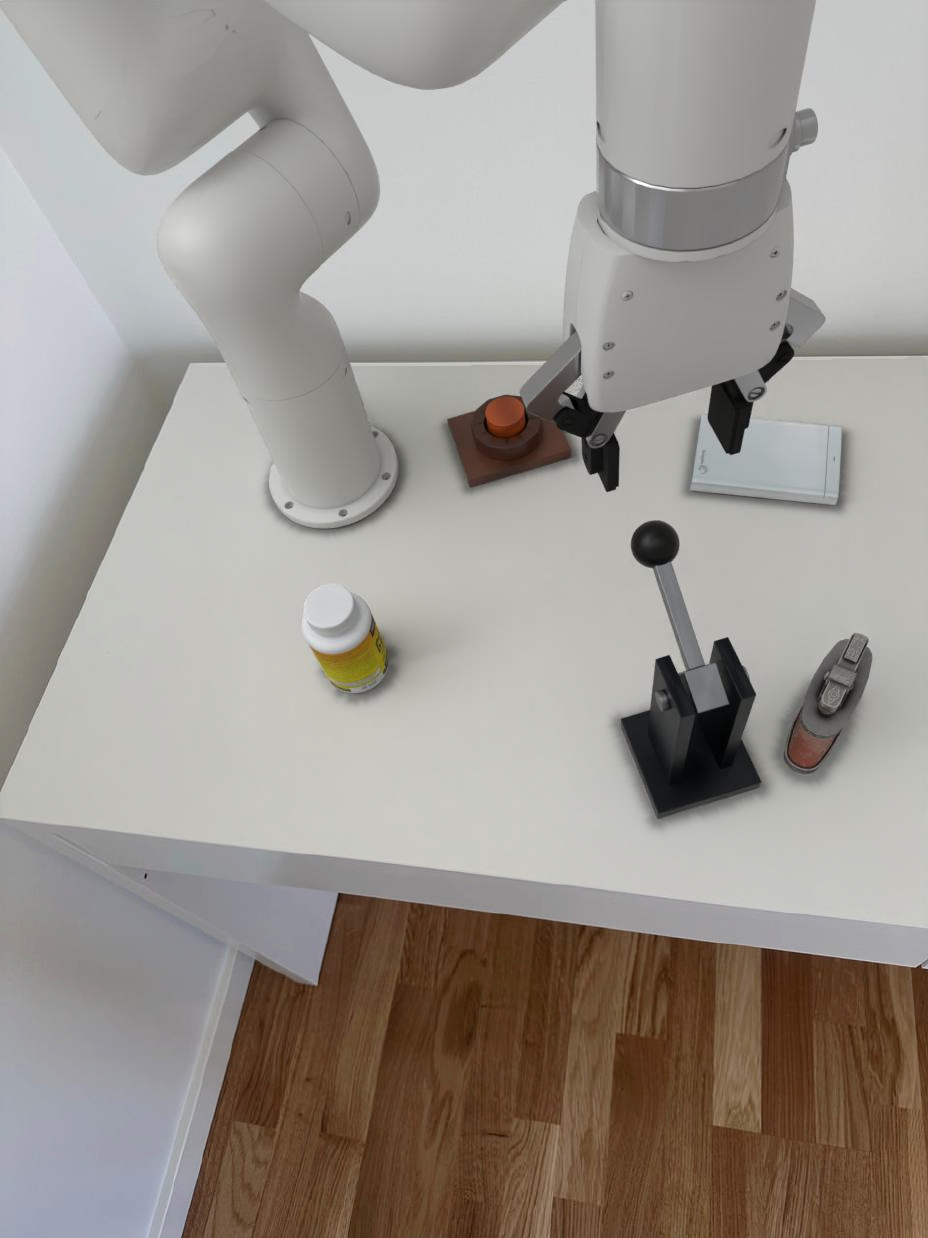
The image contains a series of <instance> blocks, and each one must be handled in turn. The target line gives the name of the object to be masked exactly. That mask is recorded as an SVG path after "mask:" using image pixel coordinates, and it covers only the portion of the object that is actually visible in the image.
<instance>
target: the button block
mask: <svg viewBox="0 0 928 1238" xmlns="http://www.w3.org/2000/svg"><path fill="white" fill-rule="evenodd" d="M500 397H513V398H516V399H518V400H519V401H520V402H521V403H522V404H523V406H524V412H525V426H524V428H523V430H522V431H521V432H520V433H519V434H517V435H516V436H513V437H510V438H499V437H496V436H494V435H493V434H491V432H490V431H489V430H488V427H487V421H486V415H485V411H486V408H487V406H488V405H489V404H490V403H491V402H492V401H493V400H495V399H497V398H500ZM446 421H447V425H448V426H447V427H448V430H449V432H450V436H451V438H452V440H453V443H454V447H455V449H456V453H457V455H458V458H459V460H460V463H461V466H462V470H463V472H464V475H465V478H466V481H467V483H468V486H469V488H473V487H478V486H480V485H483V484H488V483H491V482H493V481H497V480H500V479H501V480H502V479H504V478H507V477H510V476H514V475H517V474H521V473H524V472H528V471H531V470H534V469H537V468H541V467H544V466H547V465H550V464H551V465H552V464H554V463H557V462H561V461H565V460H568V459H570V458H572V448H571V446H570V443H569V441H568V439H567V436H566V435H565V431H563V430H560V429H559V428H558V427H557V425H556V424H555V423H553V422H551V421H549V422H548V421H546V420H543V419H541V418H539V417H537V416H535V415H533V414H530V413H529V412H527V410H526V407H525V405H524V402H523V400H522V398H521V395H515V394H502V395H499V396H495V397H493V398H488V399H487V400H485V401H484V402H483V403H482V404H481V405H480V406H479V407H477V408H476V409H475V410H473V411H470V412H466V413H463V414H460V415H459V414H458V415H456V416H453V417H449V418H446Z"/></svg>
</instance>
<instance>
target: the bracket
mask: <svg viewBox="0 0 928 1238" xmlns="http://www.w3.org/2000/svg"><path fill="white" fill-rule="evenodd" d="M709 657H710V658H709V663H708V664H710V663H717V666H718V669H719V673H720V676H721V679H722V682H723V685H724V688H725V691H726V694H727V697H728V700H729V704H728V705H725V706H722V707H718V708H715V709H712V710H708V711H705V712H702V713H699V714H695V711H694V708H693V706H692V704H691V702H690V699H689V697H688V695H687V693H686V690H685V688H684V686H683V684H682V681H681V679H680V677H679V675H678V673H679V672H678V670H677V668H676V665H675V664H674V661H673V659H672V657H671V655H670V654H668V655H664V656H661V657H658V658H655V661H654V669H653V670H654V671H653V678H652V679H653V680H652V687H651V697H650V707H649V710H645V711H641V712H638V713H636V714H632V715H628V716H625V717H622V718H620V727H621V730H622V733H623V735H624V739H625V741H626V743H627V745H628V748H629V751H630V753H631V756H632V759H633V762H634V763H635V766H636V769H637V771H638V773H639V774H638V775H639V776H640V779H641V782H642V783H643V787H644V789H645V791H646V793H647V794H646V795H647V796H648V799H649V802H650V805H651V808H652V809H653V812H654V814H655V816H656V819H657V820H658V819H663V818H665V817H668V816H673V815H675V814H678V813H681V812H685V811H688V810H692V809H695V808H697V807H701V806H705V805H707V804H711V803H714V802H717V801H721V800H723V799H728V798H730V797H733V796H737V795H740V794H743V793H747V792H750V791H752V790H757V789H759V788H760V787H761V784H762V780H761V777H760V776H759V774H758V771H757V769H756V767H755V765H754V763H753V761H752V759H751V756H750V754H749V751H748V750H747V748H746V745H745V744H744V742H743V739H742V738H743V736H744V733H745V730H746V726H747V722H748V720H749V717H750V714H751V711H752V709H753V705H754V702H755V700H756V696H757V693H756V690H755V689H754V686H753V684H752V683H751V677H750V674H749V671H748V670H747V667H745V665H743V664H742V662H741V660H740V658H739V656H738V655H737V652H736V650H735V648H734V646H733V644H732V642H731V640H730V637H728V636H726V637H723V638H719V639H716V640H714V641H713V644H712V649H711V653H710V656H709Z"/></svg>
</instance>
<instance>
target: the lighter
mask: <svg viewBox="0 0 928 1238" xmlns="http://www.w3.org/2000/svg"><path fill="white" fill-rule="evenodd" d="M869 642H870V639H869V637H868V636H867V635H865V634H863V633H860V632H853V633H852V634H851V635H850V637H849V638H845V639H841V640H838V641H837V642H836V643H835V644H834V645H833V647H832V648H831V649H830V651H828V652H827V654H826V655H825V656H824V658H823V659H822V660H821V662H820V665H818V667H817V669H816V671H815V673H814V675H813V676H812V679H811V681H810V683H809V686H808V689H807V691H806V693H805V697H804V699H803V702H802V705H800V707H799V709H798V711H797V712H796V713H795V717H794V719H793V720H792V721H793V722H792V724H791V726H790V729H789V731H788V734H787V738H786V742H785V745H784V751H783V760H784V763H785V765H786V766H787V767H788V768H789V769H790V770H791V771H793V772H795V773H797V774H801V775H810V774H813V773H815V772H816V771H817V770H818V769H819V768H820V767H821V766H822V764H823V763H824V762H825V760H826V759H827V757H828V756H829V755H830V753H831V751H832V750H833V748H834V746H835V744H836V743H837V741H838V739H839V738H840V736H841V734H842V732H843V730H844V729H845V727H846V726H847V723H848V722H849V720H850V718H852V715H853V713H854V711H855V710H856V708H857V707H858V704H859V703H860V701H861V699H862V698H863V696H864V692H865V689H866V687H867V684H868V682H869V678H870V673H871V668H872V664H873V653H872V651H871V649H870V647H868V645H869Z"/></svg>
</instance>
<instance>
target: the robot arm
mask: <svg viewBox="0 0 928 1238" xmlns="http://www.w3.org/2000/svg"><path fill="white" fill-rule="evenodd" d="M567 1H568V0H0V10H1V11H2V12H3V14H4V15H5V17H6V18H7V19H8V21H9V22H10V24H11V25H12V27H13V28H14V29H15V31H16V33H18V35H19V36H20V38H21V39H22V40H23V42H24V43H25V44H26V46H27V47H28V49H29V50H30V52H31V53H32V55H33V56H34V57H35V59H36V60H37V61H38V62H39V64H40V65H41V67H42V68H43V70H44V72H45V73H46V74H47V75H48V77H49V78H50V80H51V81H52V82H53V84H54V85H55V87H56V88H57V89H58V90H59V92H60V94H62V96H63V97H64V99H65V101H67V103H68V104H69V106H70V107H71V109H72V110H73V111H74V112H75V114H76V115H77V117H78V118H79V119H80V121H81V122H82V123H83V124H84V126H85V127H86V128H87V130H88V131H89V132H90V134H91V135H92V136H93V138H94V139H95V140H96V141H97V142H98V143H99V145H100V146H101V147H102V148H103V149H104V151H105V152H106V153H107V154H108V155H109V156H110V157H111V158H112V159H113V160H114V161H115V162H116V163H117V164H118V165H119V166H121V167H123V168H124V169H126V170H127V171H129V172H130V173H132V174H135V175H139V176H143V177H144V176H145V177H146V176H155V175H156V176H157V175H159V174H162V173H164V172H167V171H169V170H171V169H172V168H175V167H176V166H178V165H179V164H181V163H182V162H183V161H185V160H186V159H188V158H189V157H191V156H192V155H193V154H195V153H196V152H198V151H199V150H200V149H202V148H203V147H204V146H206V145H207V144H208V143H209V142H211V141H212V140H213V139H215V138H216V137H217V136H219V135H220V134H221V133H222V132H224V131H225V130H226V129H227V128H228V127H230V126H231V125H232V124H234V123H235V122H236V121H238V120H239V119H240V118H242V117H243V116H244V115H246V114H249V116H250V117H251V119H252V120H253V121H254V122H255V124H256V125H257V127H258V128H259V129H257V131H256V132H254V133H253V134H252V135H251V136H249V137H248V138H247V139H246V140H245V141H243V142H242V143H241V144H239V145H238V146H237V147H236V148H235V149H233V150H232V151H229V152H228V153H227V154H226V155H224V156H223V157H222V158H221V159H220V160H218V161H217V162H215V164H213V165H212V166H211V167H210V168H208V169H207V170H206V171H205V172H203V173H202V174H201V175H200V176H198V177H197V178H196V179H195V180H194V181H192V182H191V183H190V184H189V185H188V186H187V187H186V188H184V189H183V190H182V191H181V192H180V193H179V194H178V195H177V197H176V198H174V200H173V201H172V202H171V203H170V205H168V208H166V210H165V212H164V214H163V215H162V217H161V219H160V222H159V225H158V228H157V231H156V232H157V233H156V250H157V255H158V258H159V261H160V263H161V265H162V267H163V269H164V271H165V273H166V274H167V276H168V278H169V279H170V280H171V282H172V284H173V285H174V287H175V288H176V289H177V291H178V292H179V293H180V295H182V297H183V298H184V300H185V301H186V302H187V303H188V305H189V306H190V308H191V309H192V310H193V312H194V313H195V315H196V316H197V318H198V319H199V320H200V321H201V323H202V324H203V326H204V327H205V329H206V331H207V332H208V334H209V336H210V337H211V339H212V341H213V342H214V344H215V346H216V347H217V349H218V351H219V353H220V356H221V357H222V360H223V361H224V363H225V365H226V367H227V369H228V372H229V373H230V375H231V377H232V379H233V382H234V384H235V385H236V388H237V390H238V392H239V393H240V395H241V398H242V400H243V402H244V404H245V406H246V408H247V410H248V412H249V414H250V416H251V419H252V420H253V423H254V424H255V426H256V430H257V431H258V434H259V435H260V437H261V439H262V441H263V443H264V445H265V448H266V449H267V452H268V454H269V456H270V458H271V460H272V464H271V466H270V469H269V476H268V488H269V491H270V495H271V497H272V500H273V502H274V503H275V506H276V507H277V509H278V510H279V511H280V512H281V513H282V514H283V515H284V516H285V517H286V518H288V519H289V520H290V521H292V522H294V523H296V524H298V525H300V526H303V527H307V528H311V529H312V528H313V529H324V530H326V529H335V528H341V527H344V526H345V527H346V526H349V525H352V524H354V523H356V522H359V521H361V520H364V519H365V518H366V517H368V516H370V515H371V514H374V512H376V511H377V510H378V509H379V508H380V507H381V506H382V505H383V504H384V503H385V502H386V501H387V499H388V498H389V497H390V496H391V494H392V492H393V491H394V488H395V486H396V483H397V481H398V477H399V467H400V465H399V460H398V455H397V451H396V450H395V446H394V445H393V443H392V441H391V440H390V438H389V437H388V436H387V435H386V434H385V433H384V431H382V430H381V429H378V428H377V427H375V426H374V425H372V424H371V423H370V420H369V418H368V414H367V411H366V408H365V405H364V402H363V398H362V396H361V392H360V389H359V386H358V383H357V380H356V378H355V373H354V370H353V368H352V365H351V361H350V358H349V355H348V352H347V350H346V346H345V343H344V340H343V337H342V334H341V331H340V328H339V326H338V324H337V321H336V319H335V318H334V316H333V314H332V313H331V311H330V310H329V309H328V308H327V307H326V306H325V305H324V304H323V302H320V300H318V299H316V298H315V297H313V296H311V295H309V294H308V293H305V292H303V291H302V290H301V289H302V287H303V286H304V284H305V282H306V281H307V280H308V279H309V278H310V277H311V276H312V275H314V274H315V272H316V271H318V270H319V269H320V267H321V266H322V265H323V264H324V263H326V261H328V259H329V258H331V257H332V256H334V254H336V253H337V251H338V250H340V249H341V248H342V247H344V245H345V244H346V243H348V241H349V240H351V239H352V238H353V237H354V236H355V235H356V234H357V233H359V231H360V230H362V228H363V227H364V226H365V225H366V224H367V223H368V222H369V221H370V219H371V218H372V217H373V215H374V214H375V212H376V211H377V207H378V206H379V202H380V197H381V182H380V176H379V172H378V168H377V165H376V162H375V159H374V156H373V155H372V152H371V150H370V147H369V145H368V143H367V141H366V139H365V137H364V135H363V133H362V131H361V129H360V128H359V125H358V124H357V121H356V120H355V118H354V116H353V114H352V112H351V111H350V109H349V107H348V105H347V103H346V101H345V99H344V98H343V96H342V94H341V92H340V90H339V88H338V86H337V85H336V82H335V81H334V78H333V77H332V75H331V74H330V71H329V70H328V68H327V66H326V64H325V62H324V60H323V58H322V57H321V55H320V53H319V51H318V49H317V47H316V45H315V42H314V41H313V40H312V38H311V36H312V37H313V38H315V39H316V40H317V41H319V42H320V43H322V44H323V45H325V46H326V47H328V48H329V49H331V50H332V51H334V52H335V53H336V54H338V55H340V56H342V57H343V58H345V59H346V60H348V61H350V62H351V63H353V64H354V65H356V66H358V67H360V68H361V69H364V70H365V71H367V72H369V73H371V74H372V75H375V76H377V77H378V78H381V79H383V80H386V81H388V82H391V83H393V84H396V85H400V86H403V87H407V88H412V89H417V90H423V91H434V90H444V89H450V88H455V87H456V86H460V85H462V84H464V83H466V82H468V81H470V80H471V79H474V78H476V77H478V76H479V75H481V73H483V72H484V71H485V70H487V69H488V68H489V67H491V66H492V65H493V64H494V63H496V62H497V61H499V59H500V58H502V57H503V56H504V55H505V54H506V53H508V51H509V50H510V49H511V48H513V47H514V46H515V45H516V44H517V43H518V42H519V41H520V40H522V39H523V38H524V37H525V36H526V35H528V33H530V32H531V31H532V30H534V28H535V27H537V26H538V25H539V24H540V23H541V22H542V21H543V20H545V18H547V17H548V16H549V15H550V14H551V13H553V12H554V11H555V10H556V9H557V8H558V7H560V6H561V5H562V4H563V3H565V2H567ZM816 3H817V0H594V10H595V11H594V12H595V13H594V18H595V19H594V20H595V23H594V24H595V29H594V31H595V32H594V33H595V137H596V138H595V144H596V145H595V153H596V154H595V157H596V158H595V162H596V163H595V166H596V167H595V168H596V171H595V177H596V182H595V184H596V186H595V187H596V190H595V191H592V192H590V193H588V194H586V195H584V196H582V198H581V199H580V201H579V203H578V206H577V209H576V213H575V217H574V221H573V225H572V229H571V230H572V231H571V236H570V241H569V247H568V255H567V262H566V269H565V270H566V271H565V279H564V280H565V281H564V292H563V293H564V294H563V311H562V313H563V314H562V342H563V343H562V344H561V345H560V346H559V347H558V348H557V349H556V350H555V352H554V353H553V354H552V355H551V356H550V357H549V358H548V359H547V360H546V361H545V362H544V363H543V364H542V365H541V366H540V367H539V368H538V369H537V370H536V371H535V373H533V374H532V376H531V377H530V378H529V379H528V380H527V381H526V382H525V383H524V384H523V385H522V386H521V387H520V389H519V396H521V398H522V400H523V402H524V405H525V407H526V410H527V412H529V413H530V414H533V415H535V416H537V417H539V418H541V419H543V420H546V421H548V422H549V421H551V422H553V423H555V424H556V425H557V427H558V428H559V429H560V430H563V432H564V433H567V434H571V435H573V436H575V437H578V438H580V441H581V457H582V461H583V464H584V467H585V469H586V471H587V473H588V475H589V476H592V475H596V474H597V475H598V477H599V479H600V481H601V484H602V486H603V488H604V490H605V493H609V492H614V491H616V490H617V488H618V487H619V486H620V456H621V455H620V453H621V450H620V449H621V448H620V443H619V441H618V439H617V436H616V434H615V431H616V429H617V428H618V427H619V424H620V422H621V420H622V419H623V417H624V415H625V414H626V412H627V411H630V410H633V409H637V408H641V407H644V406H648V405H652V404H656V403H659V402H662V401H665V400H668V399H673V398H676V397H679V396H683V395H686V394H689V393H693V392H695V391H699V390H702V389H706V388H709V387H711V388H710V396H709V401H708V402H709V404H708V410H707V414H708V416H707V418H708V422H709V424H710V426H711V427H712V429H713V431H714V433H715V435H716V436H717V438H718V440H719V442H720V444H721V445H722V447H723V449H724V451H725V453H726V454H730V455H734V454H737V453H740V451H741V446H742V441H743V436H744V431H745V429H746V428H748V427H749V422H750V418H752V412H753V408H754V403H755V402H757V401H759V400H761V399H762V398H763V397H764V396H765V395H766V394H767V391H768V387H767V385H766V384H767V383H768V382H769V381H770V380H771V379H772V378H773V377H774V376H775V375H776V374H778V373H779V372H780V371H781V370H782V369H783V368H784V367H785V366H786V365H788V363H790V362H791V361H792V359H793V358H794V357H795V349H797V348H801V346H803V345H804V344H806V342H807V341H808V340H809V339H810V338H811V337H812V336H813V335H814V334H815V333H816V332H818V330H819V329H820V328H822V326H823V325H824V324H825V322H826V319H827V318H826V316H825V314H824V313H823V312H822V310H821V309H820V308H819V305H818V304H817V303H816V302H815V301H814V300H813V299H811V297H808V296H806V295H805V294H803V293H801V292H799V291H798V290H796V289H794V288H793V287H792V283H793V282H792V281H793V272H794V271H793V269H794V249H795V248H794V245H795V244H794V243H795V236H794V234H795V233H794V231H795V228H794V208H793V207H794V206H793V194H792V188H791V185H790V183H789V181H788V178H787V176H788V175H787V174H788V171H789V170H788V169H789V165H790V159H791V156H792V154H793V153H796V152H798V151H799V150H800V148H801V147H805V146H808V145H812V144H813V143H814V142H816V139H817V138H818V134H819V133H818V132H819V122H818V117H817V115H816V113H815V111H814V110H813V108H809V107H808V108H804V109H801V110H797V106H798V102H799V101H798V100H799V95H800V90H801V84H802V80H803V79H802V78H803V75H804V68H805V63H806V62H805V61H806V58H807V52H808V46H809V42H810V36H811V31H812V25H813V21H814V20H813V19H814V15H815V9H816ZM580 377H581V379H582V386H581V387H580V390H579V391H578V393H577V395H574V394H571V393H569V392H566V391H567V390H568V389H569V388H570V387H571V386H572V385H573V384H574V383H575V382H576V381H577V380H578V379H579V378H580Z"/></svg>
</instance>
